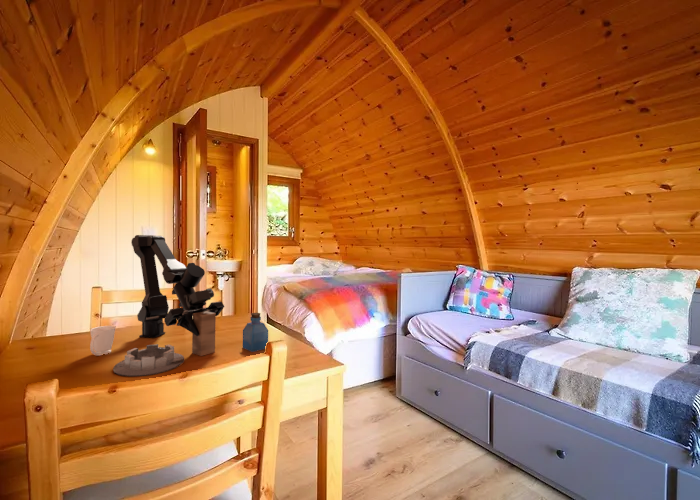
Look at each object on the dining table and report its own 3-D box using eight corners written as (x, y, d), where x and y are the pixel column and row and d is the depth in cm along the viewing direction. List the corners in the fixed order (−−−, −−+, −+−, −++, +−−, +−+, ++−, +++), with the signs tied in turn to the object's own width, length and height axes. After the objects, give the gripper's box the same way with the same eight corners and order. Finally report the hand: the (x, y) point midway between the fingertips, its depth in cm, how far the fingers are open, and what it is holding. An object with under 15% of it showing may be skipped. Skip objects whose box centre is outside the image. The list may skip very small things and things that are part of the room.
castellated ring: (96, 374, 91) (96, 359, 91) (142, 352, 109) (142, 340, 109) (159, 378, 90) (159, 363, 90) (195, 355, 108) (195, 342, 107)
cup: (120, 349, 112) (120, 325, 112) (104, 359, 103) (104, 333, 102) (97, 349, 111) (97, 325, 111) (78, 360, 101) (78, 334, 101)
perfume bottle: (268, 348, 116) (268, 313, 116) (252, 352, 112) (252, 316, 112) (258, 344, 121) (258, 311, 120) (242, 347, 116) (243, 313, 116)
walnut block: (192, 352, 110) (192, 313, 110) (205, 349, 114) (206, 311, 114) (201, 356, 107) (201, 315, 107) (214, 352, 111) (215, 313, 111)
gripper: (169, 283, 104) (189, 324, 98) (221, 278, 120) (241, 313, 114) (156, 305, 109) (174, 345, 103) (208, 298, 124) (226, 332, 119)
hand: (206, 333), depth 110 cm, fingers closed on walnut block, 5 cm apart
